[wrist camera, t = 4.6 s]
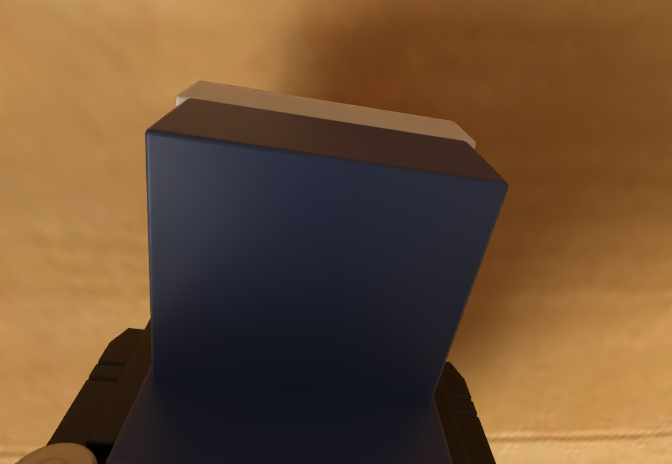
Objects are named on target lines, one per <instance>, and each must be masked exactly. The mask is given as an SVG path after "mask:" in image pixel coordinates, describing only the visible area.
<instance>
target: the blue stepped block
mask: <svg viewBox="0 0 672 464" xmlns="http://www.w3.org/2000/svg"><path fill="white" fill-rule="evenodd" d="M145 144H146V178H147V212H148V245H149V279H150V313H151V347H152V365H151V367H150V369H149V371H148V373H147V375H146V378H145V380H144V382H143V384H142V386H141V388H140V390H139V393H138V395H137V397H136V399H135V401H134V403H133V406H132V408H131V410H130V412H129V414H128V416H127V418H126V421H125V423H124V425H123V427H122V429H121V431H120V434H119V436H118V438H117V440H116V442H115V444H114V446H113V449H112V451H111V453H110V455H109V457H108V459H107V462H106V464H453V463H452V460H451V456H450V452H449V449H448V445H447V442H446V438H445V435H444V431H443V427H442V424H441V420H440V417H439V413H438V410H437V406H436V403H435V399H434V393H435V390H436V387H437V384H438V381H439V379H440V376H441V373H442V370H443V368H444V365H445V362H446V359H447V356H448V354H449V351H450V348H451V345H452V343H453V340H454V337H455V334H456V331H457V329H458V326H459V323H460V320H461V318H462V315H463V312H464V309H465V306H466V304H467V301H468V298H469V295H470V293H471V290H472V287H473V284H474V281H475V279H476V276H477V273H478V270H479V268H480V265H481V262H482V259H483V256H484V254H485V251H486V248H487V245H488V243H489V240H490V237H491V234H492V231H493V229H494V226H495V223H496V220H497V218H498V215H499V212H500V209H501V206H502V204H503V201H504V198H505V195H506V193H507V190H508V183H507V182H506V181H505V180H504V179H503V178H502V177H501V176H500V175H499V174H498V173H497V172H496V171H495V170H494V169H493V168H492V167H491V166H490V165H489V164H488V163H487V162H486V161H485V160H484V159H483V158H482V157H481V156H480V155H479V154H478V153H477V152H476V151H475V147H476V142H475V141H474V140H473V139H472V138H471V137H470V136H469V135H468V134H467V133H466V132H465V131H463V130H462V129H461V128H460V127H459V126H458V125H457V124H456V123H455V122H453V121H450V120H444V119H437V118H431V117H425V116H419V115H413V114H406V113H400V112H394V111H388V110H381V109H375V108H369V107H363V106H357V105H350V104H344V103H338V102H332V101H325V100H319V99H313V98H307V97H301V96H294V95H288V94H282V93H276V92H269V91H263V90H257V89H251V88H244V87H238V86H232V85H226V84H220V83H213V82H207V81H198V82H196V83H195V84H193V85H192V86H190V87H189V88H188V89H186V90H185V91H183V92H182V93H180V94H179V95H177V98H176V108H175V109H173V110H172V111H171V112H169V113H168V114H167V115H165V116H164V117H163V118H161V119H160V120H159V121H157V122H156V123H155V124H154V125H152V126H151V127H150V128H148V129H147V130H146V133H145Z"/></svg>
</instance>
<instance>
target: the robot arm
mask: <svg viewBox="0 0 672 464" xmlns="http://www.w3.org/2000/svg"><path fill="white" fill-rule="evenodd" d="M151 365H152V347H151V318H150V320H149V322H148V324H147V326H146V328H145V330H143V329H133V328H128V329H127V330H125V331H124V332H123V333H122V334H120V335H119V336H118V337H116V338H115V339H114V340H112V341H111V342H110V343H109V344H108V346H107V348H106V349H105V351H104V353H103V354H102V356H101V358H100V359H99V362H98V365H97V364H96V366H95V367H94V369H93V371H92V372H91V374H90V375H89V379H88V380H86V382H85V384H84V385H83V387H82V389H81V390H80V392H79V393H78V395H77V397H76V398H75V400H74V402H73V403H72V405H71V407H70V408H69V410H68V411H67V413H66V415H65V416H64V418H63V420H62V421H61V423H60V424H59V426H58V428H57V429H56V431H55V433H54V434H53V436H52V438H51V439H50V441H49V442H48V443H47V445H46V446H45V447H42V448H40V449H37V450H35V451H33V452H31V453H29V454H28V455H26V456H25V457H23V458H22V459H20V460H19V461H18V462H17V463H15V464H106V462H107V459H108V457H109V455H110V453H111V451H112V449H113V446H114V444H115V442H116V440H117V438H118V436H119V434H120V431H121V429H122V427H123V425H124V423H125V421H126V418H127V416H128V414H129V412H130V410H131V408H132V406H133V403H134V401H135V399H136V397H137V395H138V393H139V390H140V388H141V386H142V384H143V382H144V380H145V378H146V375H147V373H148V371H149V369H150V367H151ZM434 399H435V403H436V406H437V410H438V413H439V417H440V420H441V424H442V427H443V431H444V435H445V438H446V442H447V445H448V449H449V452H450V456H451V460H452V463H453V464H496V462H495V460H494V457H493V454H492V452H491V449H490V446H489V444H488V441H487V438H486V436H485V433H484V430H483V428H482V425H481V422H480V420H479V417H477V412H476V409H475V406H474V404H473V402H472V401H471V396H470V393H469V390H468V388H467V385H466V382H465V380H464V378H463V377H462V376H461V375H460V374H459V372H458V371H457V370H456V369H455V368H454V366H453V365H452V364H451V363H450V362H445V365H444V368H443V370H442V373H441V376H440V379H439V381H438V384H437V387H436V390H435V393H434Z"/></svg>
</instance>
